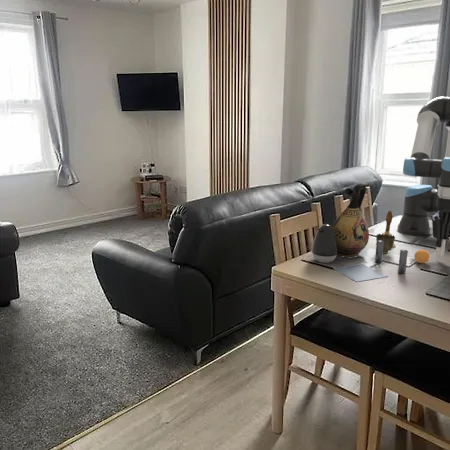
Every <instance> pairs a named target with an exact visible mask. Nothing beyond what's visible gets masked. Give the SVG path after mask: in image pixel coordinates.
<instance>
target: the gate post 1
mask: <svg viewBox="0 0 450 450" xmlns="http://www.w3.org/2000/svg"><path fill="white" fill-rule="evenodd" d="M375 246H376V248H375V255H374V256H375V258H374V263H375V264H377V265H381V264H383V246H384V241H382V240H377V245H375Z"/></svg>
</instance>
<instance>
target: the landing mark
mask: <svg viewBox="0 0 450 450" xmlns="http://www.w3.org/2000/svg"><path fill="white" fill-rule="evenodd" d="M332 269H333V270H334V271H336V272H338V273H339V274H342V275H343V276H344V277H347V278H349V279H350V280H352V281H354V282H356V283H359V282H365V281H371V280H376V279H383V278H388V277H389V276H388V275H386V274H384V273H382V272H380V271H379V270H376V269H374V268H372V267H370V266H368V265H366V264H364V263H361V264H360V263H359V264H353V265H347V266H339V267H333V268H332Z"/></svg>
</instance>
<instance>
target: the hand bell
mask: <svg viewBox="0 0 450 450" xmlns="http://www.w3.org/2000/svg"><path fill="white" fill-rule="evenodd" d="M392 221H393V213H392V210H388V211H387V214H386V217H385V224H386V225H385V229H384V230H385V231H384V232H382V233H383V235H385V234H389V236H390V235H392V236H393V234H392V233H391V232H390V231H391V230H390V229H391V223H392ZM375 246H377V243H376V244H375ZM394 248H396V245H395V243H394V244H393V247H392V249H394Z"/></svg>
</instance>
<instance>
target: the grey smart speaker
mask: <svg viewBox="0 0 450 450" xmlns="http://www.w3.org/2000/svg"><path fill="white" fill-rule="evenodd" d="M332 227H333V225H330V224H328V223H324V224H322V225H321V226H320V227H319V228H318V229H317V231H316V234H315V236H314V238H313V242H312V245H311V253H312V257H313V258H314V260H315V261H317V262H319V263H321V262H322V264H329V263H331V262H333V261H335V259H336V257H337V256H338V255H337V254H338V245H337V239H336V234H335V231H334V229H333V228H332Z"/></svg>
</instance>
